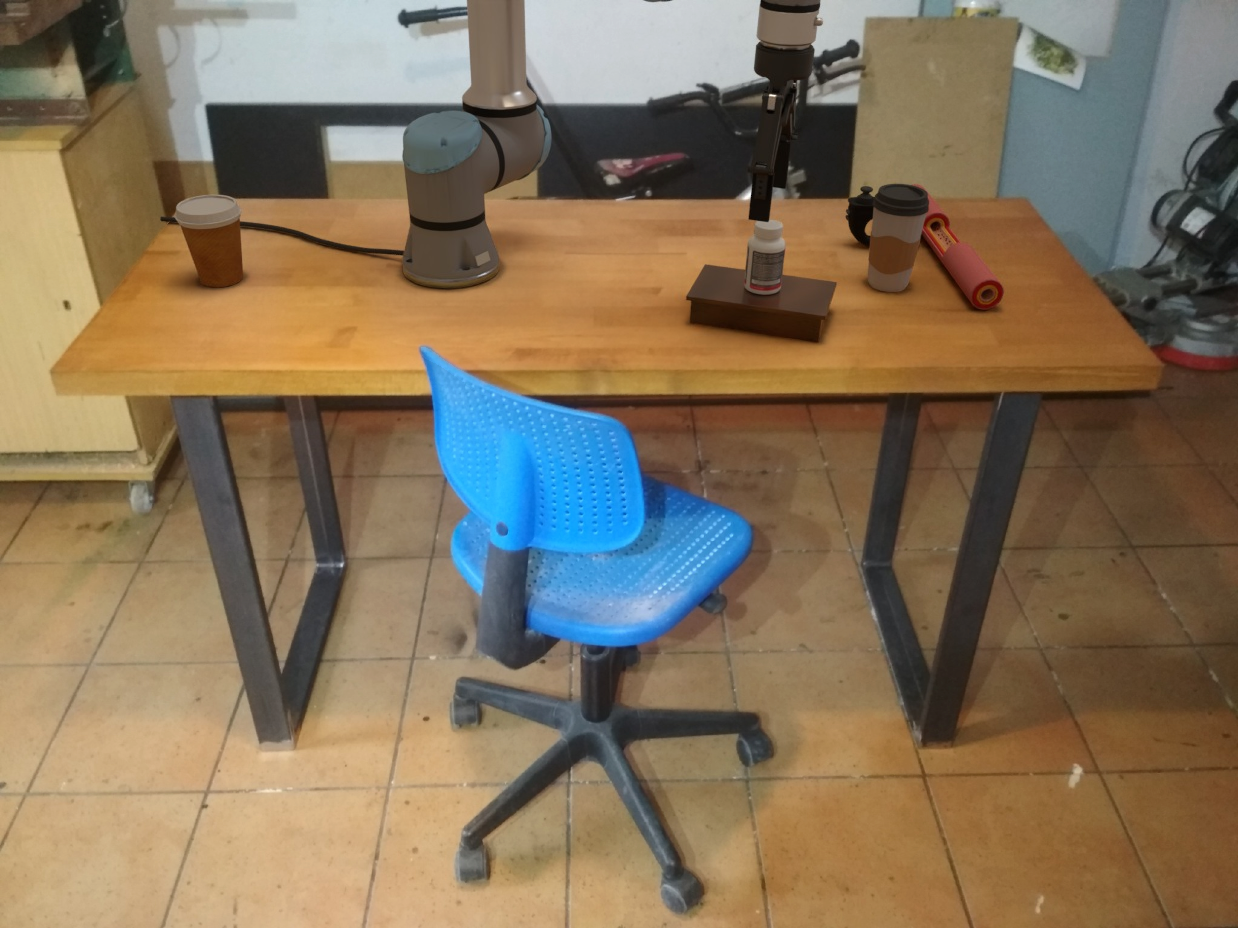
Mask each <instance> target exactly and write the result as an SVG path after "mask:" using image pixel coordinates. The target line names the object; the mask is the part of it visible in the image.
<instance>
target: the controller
mask: <svg viewBox="0 0 1238 928" xmlns="http://www.w3.org/2000/svg"><path fill="white" fill-rule="evenodd" d="M859 189H860V192H862V193H860V194H858V195H857V196H851V197H849V198H847V203H848V206H847V209H845V213H846V214H845V216H844V217H845V219H846V221H847V223H848V229H849V231H850V233H851V235H852V236H853V238H854V239H855V240H856V241H857V242H858V243H860V244H862V245H864V246H866V247H870V236H871V235H869V234H867V232H866V227H867V225H868V224H869V222H871V221H873V209H874V206H873V202H874V198H875V196H873V195H872V194H871V193H873V191H874V188H873V187H872V186H869V185H864V186H863V185H862V186H860V188H859Z"/></svg>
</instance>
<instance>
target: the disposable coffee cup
mask: <svg viewBox="0 0 1238 928" xmlns="http://www.w3.org/2000/svg"><path fill="white" fill-rule="evenodd" d="M237 201H238V200H237V199H235V198H234V197H232V196H229V195H225V194H204V195H203V194H202V195H197V196H192V197H188V198H186V199H184V200H181V201H179V202H178V203H177V204H176V206H175V213H174V217H175V219H176V220H177V221H178V222H177V223H178V225H179V227H180V229H181V231H182V235H183V237H184V240H185V242H186V245H187V248H188V250H189V253H190V256H191V260H192V262H193V264H194V267H195V269H196V273H197V275H198V278H199V280H200V281H199V282H200V283H201V284H202V285H203V286H205V287H210V288H224V287H225V288H226V287H228V286H232V285H235V284H238V283H240V282H241V281H242V280H243V279H244V269H243V268H244V267H243V252H242V233H241V226H240V221H241V214H242V208H241V206H240V205H239V204H238V202H237Z"/></svg>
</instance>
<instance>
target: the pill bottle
mask: <svg viewBox="0 0 1238 928" xmlns="http://www.w3.org/2000/svg"><path fill="white" fill-rule="evenodd" d="M783 233H784V224H783V223H782V222H781V221H779V220H775V219H770V218H769V222H762V221H756V222H755V223H754V228H753V234H754V235H752V236H750V238H749V239H748V241H747V245H746V247H747V248H746V258H745V269H744V270H745V282H744V286H745V288H746V289H747V290H748V291H750V292H752V293H755V294H760V295H770V294H774V293H777V292H778V291H779V290H780V289H781V283H782V275H784V273H783V272H784V266H785V265H784V264H785V263H784V262H785V255H786V246H787V244H786V240H785V239H784V238H783V237H782V236H783Z"/></svg>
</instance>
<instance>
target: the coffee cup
mask: <svg viewBox="0 0 1238 928" xmlns="http://www.w3.org/2000/svg"><path fill="white" fill-rule="evenodd" d="M927 192H928V190H926V191H925V190H924V189H922V188H920V187H917V186H913V185H912V184H907V183H887V184H884V185H881V186H880V187H879V188H878V190H877V193H876V194H875V195H874V197H875V198H874V202H873V206H874V209H873V219H872V220H871V221H872V223H871V231H870V235H869V236H870V246H869V250H868V260H867V261H868V265H867V278H866V279H867V281H868V285H869V286H870V287H871V288H872V289H875V290H877V291H880V292H884V293H898V292H902V291H904V290H905V289H906V288H907V287H908V285H909V283H910V279H911V275H912V272H913V268H914V265H915V262H916V259H917V254H918V251H919V247H920V242H921V239H922V234H921V233H922V229H923V225H924V221H925V217H926V213H927V212H928V211H929V199H928V193H929V192H928V193H927Z"/></svg>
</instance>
